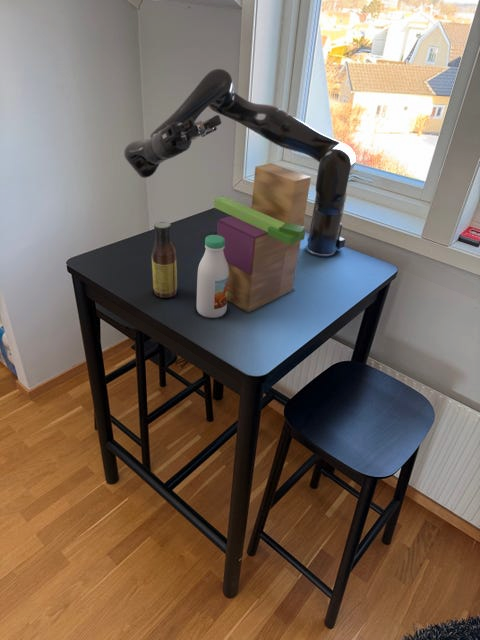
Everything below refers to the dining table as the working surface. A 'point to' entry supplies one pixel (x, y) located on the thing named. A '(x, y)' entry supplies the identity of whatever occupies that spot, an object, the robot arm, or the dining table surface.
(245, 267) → the towel
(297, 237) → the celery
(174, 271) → the sauce bottle
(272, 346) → the dining table surface
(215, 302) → the milk bottle
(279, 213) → the oak stand
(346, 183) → the robot arm
